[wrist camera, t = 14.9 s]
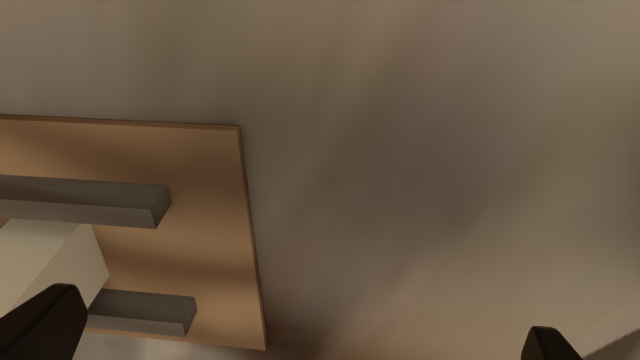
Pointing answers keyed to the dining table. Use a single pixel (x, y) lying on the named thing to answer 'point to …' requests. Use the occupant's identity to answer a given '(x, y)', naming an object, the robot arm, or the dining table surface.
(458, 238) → the dining table surface
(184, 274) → the brown flat board
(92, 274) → the cream square-faced block
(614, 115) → the dining table surface
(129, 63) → the dining table surface
